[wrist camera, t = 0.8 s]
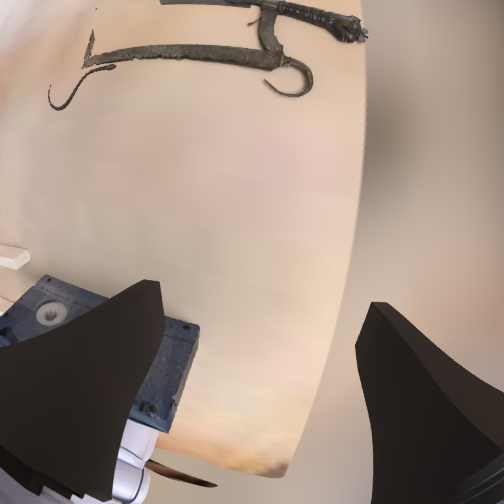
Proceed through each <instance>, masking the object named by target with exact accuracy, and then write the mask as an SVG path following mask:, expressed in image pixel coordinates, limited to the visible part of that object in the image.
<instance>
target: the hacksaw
mask: <svg viewBox="0 0 504 504" xmlns="http://www.w3.org/2000/svg"><path fill="white" fill-rule="evenodd" d="M159 1H160V3H161V5H167V4H210V5H226V6H237V7H247V8H250V7H251V4H252V5H258V6H262V8H261V10H262V11H263V12H262V17H261V18H260V19H261V21H260V27H259V34H260V39H261V42H262V45H263V47H264V49H265V50H256V49H248V48H240V47H230V46H217V45H198V44H197V45H180V44H177V45H150V46H141V47H133V48H126V49H121V50H116V51H112V52H110V53H103V54H101V55H95V56H93V57H91V58H89V57H90V56H91V50H92V47H93V44H94V39H95V38H94V32H93V30H92V33H91V36H90V39H89V41H90V43H88V47H87V49H86V53H85V56H84V59H85V61H84V64H83V65H84V66H83V68H84V67H85V66H86V67H85V68H87V67H89V66H92V65H93V64H96V65H100V64H104V63H114V62H121V61H128V60H133V59H134V58H138V59H140V60H142V59H143V58H144V59H157V58H162V59H177V60H182V59H184V58H185V59H191V60H201V61H213V62H221V63H230V64H235V65H241V66H247V67H253V68H259V69H264V70H270V71H272V70H274V69H276V68H277V67H280V66H285V65H286V66H288V67H290V65H293V66H295V67H297V68H299V69H302V70H303V71H304V72H305V74H306V75H307V78H308V86H307V88H306V89H305V90H304V91H303V92H301V93H299V94H286V93H282V92H280V91H278V90H277V89H276V88H275V87H273V86H272V85H271V84H270V83H269V82H268V81H266V80H265V79H264V80H265V81H266V82H267V84H268V85H269V86H270V87H272V88H273V89H274V90H275V91H276V92H278V93H280V94H281V95H285V96H289V97H299V96H302V95H304V94H306V93H308V92H309V91H310V90H311V89H312V86H313V75H312V72H311V70H310V69H309V67H308V66H306V65H305V64H304V63H303V62H301V61H298V60H296V59H294V58H291V57H286V56H285V55H284V53H283V45H281V44H280V43H279V42H278V40H277V36H275V35H274V24H275V20H276V17H277V14H279V15H286V16H289V17H293V18H296V19H300V20H303V21H307V22H310V23H312V24H315V25H319V26H322V27H324V28H326V29H328V30H330V31H331V32H332V33H333V34H334V35H335V36H336V37H337V38H339V39H340V40H341V41H343V42H345V41H348V42H350V43H353V42H354V41H355V40H356V38H357V37H359V41H360V42H363V43H364V42H365V39H364V37H365V38H367V39H368V36H366V35H364V34H367V33H368V30H367V29H365V28H363V29H362V30H361V26H360V21H361V20H360V19H358V18H357V17H355V16H353V15H352V16H343V15H340V14H336V13H333V12H327V11H324V10H321V9H318V8H313V7H308V6H304V5H300V4H295V3H291V2H286V1H284V0H282V1H279V0H263V1H262V0H159ZM95 10H97V8H96V9H95ZM260 19H258V20H256V21H255V22H257V21H259V20H260ZM255 22H252V23H248V24H249V26H250V25H252V24H253V23H255ZM362 36H363V37H362ZM88 55H90V56H88ZM87 56H88V58H87ZM116 67H117V66H116V65H114V64H110V65H108V66H103V67H99V68H96V69H94V70H90V71H89V72H88V73H86V74H85V76H83V77H82V79H81V80H80V81H79V83H78V85H77V86H76V88H75V89H74V91H73V92H72V94H71V96H70V97H69V99H68V100H67V102H66V103H65V104H64V105H62V106H60V107H55V106H54V105H53V104H50V106H52V108H54V109H55V110H57V111H59V110H62V109H64V108H66V106H68V104H69V103H70V101H71V100H72V98H73V96H74V95H75V92H76V91H77V89H78V87H79V86H80V84H81V82H82V81H83V79H85V78H86V76H87V75H89V74H90V73H93V72H95V71H96V72H97V71H101V70H112V69H114V68H116ZM81 69H82V68H81ZM50 87H51V85H50ZM49 92H50V89H49V91H48V99H49V103H51V101H50V97H49Z"/></svg>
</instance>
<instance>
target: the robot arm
mask: <svg viewBox="0 0 504 504" xmlns="http://www.w3.org/2000/svg"><path fill="white" fill-rule="evenodd" d="M165 329H166V323H165V317H164V310H163V303H162V296H161V289H160V282H159V281H152V280H145V279H144V280H142V281H140V282H138V283H136V284H134V285H132V286H130V287H129V288H127V289H125V290H124V291H122V292H120V293H119V294H117V295H115V296H114V297H112V298H110V299H109V300H107V301H105V302H104V303H102V304H100V305H99V306H97V307H95V308H93V309H91V310H90V311H88V312H86V313H84V314H82V315H81V316H79V317H77V318H75V319H73V320H71V321H70V322H68V323H66V324H63V325H61V326H59V327H57V328H55V329H52V330H50V331H48V332H46V333H43V334H41V335H38V336H35V337H32V338H29V339H27V340H24V341H21V342H18V343H15V344H11V345H7V346H3V347H0V504H119V503H116V502H114V501H112V498H114V499H116V500H118V501H121V502H123V503H122V504H141V503H142V502H143V500H144V499H145V496H146V494H147V492H148V489H149V484H150V474H149V472H148V469H147V468H145V467H144V464H145V461H147V460H148V459H149V458H150V457H151V455H152V452H153V449H154V446H155V443H156V440H157V437H158V434H159V430H156V429H153V428H150V427H147V426H144V425H141V424H138V423H136V422H133V421H131V420H129V419H128V417H129V414H130V410H131V408H132V405H133V403H134V400H135V398H136V396H137V394H138V392H139V390H140V387H141V385H142V383H143V381H144V379H145V377H146V375H147V373H148V371H149V369H150V367H151V365H152V363H153V361H154V359H155V357H156V355H157V352H158V350H159V347H160V345H161V342H162V339H163V336H164V332H165ZM355 350H356V360H357V367H358V373H359V376H360V381H361V385H362V389H363V393H364V397H365V401H366V406H367V410H368V414H369V419H370V424H371V430H372V442H373V489H372V500H371V504H504V393H503V392H502V391H500V390H498V389H496V388H494V387H493V386H491V385H489V384H488V383H486V382H484V381H483V380H481V379H479V378H478V377H476V376H475V375H473V374H472V373H470V372H469V371H468V370H466V369H465V368H463V367H462V366H461V365H459V364H458V363H457V362H455V361H454V360H453V359H452V358H450V357H449V356H448V355H447V354H445V353H444V352H443V351H442V350H441V349H440V348H438V347H437V346H436V345H435V344H434V343H433V342H432V341H430V340H429V339H428V338H427V337H426V336H425V335H424V334H423V333H422V332H420V331H419V330H418V329H417V328H416V327H415V326H414V325H413V324H412V323H411V322H409V321H408V320H407V319H406V318H405V317H404V316H403V315H402V314H400V313H399V312H398V311H397V310H396V309H395V308H393V307H392V306H391V305H389V304H388V303H386V302H371V304H370V307H369V310H368V313H367V315H366V318H365V321H364V324H363V326H362V329H361V331H360V334H359V336H358V340H357V342H356V344H355ZM70 500H71V501H70Z"/></svg>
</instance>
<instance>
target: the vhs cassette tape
mask: <svg viewBox="0 0 504 504" xmlns="http://www.w3.org/2000/svg"><path fill="white" fill-rule="evenodd" d="M107 300H109V298H106V297H103V296H101V295H98V294H95V293H92V292H90V291H87V290H84V289H82V288H79V287H76V286H74V285H71V284H69V283H66V282H63V281H61V280H58V279H56V278H53V277H51V276H49V275H45V276H44V277H43V278H42V279H40V280H39V281H38V282H37V283H36V285H35V286H33V287H31V288H30V289H29V290H28V291H27V292H26V293H25V294H23V295H22V296H21V297H20V298H19V299H18V300H17V301H16V302H15V303H14V304H13V305H12V306H11V307H10V308H9V309H8V310H7V311H6V312H5V313H4V314H3V315H1V316H0V347H3V346H7V345H11V344H15V343H18V342H21V341H24V340H27V339H29V338H32V337H35V336H38V335H41V334H43V333H46V332H48V331H50V330H52V329H55V328H57V327H59V326H61V325H63V324H66V323H68V322H70V321H71V320H73V319H75V318H77V317H79V316H81V315H82V314H84V313H86V312H88V311H90V310H91V309H93V308H95V307H97V306H99V305H100V304H102V303H104V302H105V301H107ZM164 317H165V323H166V329H165V332H164V336H163V339H162V342H161V345H160V347H159V350H158V352H157V355H156V357H155V359H154V361H153V363H152V365H151V367H150V369H149V371H148V373H147V375H146V377H145V379H144V381H143V383H142V385H141V387H140V390H139V392H138V394H137V396H136V398H135V400H134V403H133V405H132V408H131V410H130V414H129V417H128V419H129V420H131V421H133V422H136V423H138V424H141V425H144V426H147V427H150V428H153V429H156V430H159V431H162V432H165V433H167V434H168V432H169V430H170V428H171V424H172V422H173V419H174V417H175V412H177V406H178V404H179V402H180V398H181V395H182V392H183V390H184V387H185V383H186V379H187V376H188V374H189V371H190V368H191V366H192V362H193V359H194V357H195V354H196V351H197V349H198V340H199V331H200V327H199V326H198V325H196V324H191V323H187V322H184V321H181V320H176V319H173V318H170V317H166V316H164Z"/></svg>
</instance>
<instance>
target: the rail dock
mask: <svg viewBox="0 0 504 504" xmlns="http://www.w3.org/2000/svg"><path fill="white" fill-rule="evenodd" d="M30 260H31V258H30V254H29V250H28V249H23V248H17V247H12V246H7V245H1V244H0V265H2V266H5V267H8V268H12V269H15V270H18V269H19V268H20V267H22V266H23V265H24V264H26V263H27V262H28V261H30ZM13 304H14V303H13V302H11V301H8V300H6V299H4V298H2V297H0V316H1V315H3V314H4V313H5V312H6V311H7V310H8V309H9V308H10V307H11V306H12V305H13Z"/></svg>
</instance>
